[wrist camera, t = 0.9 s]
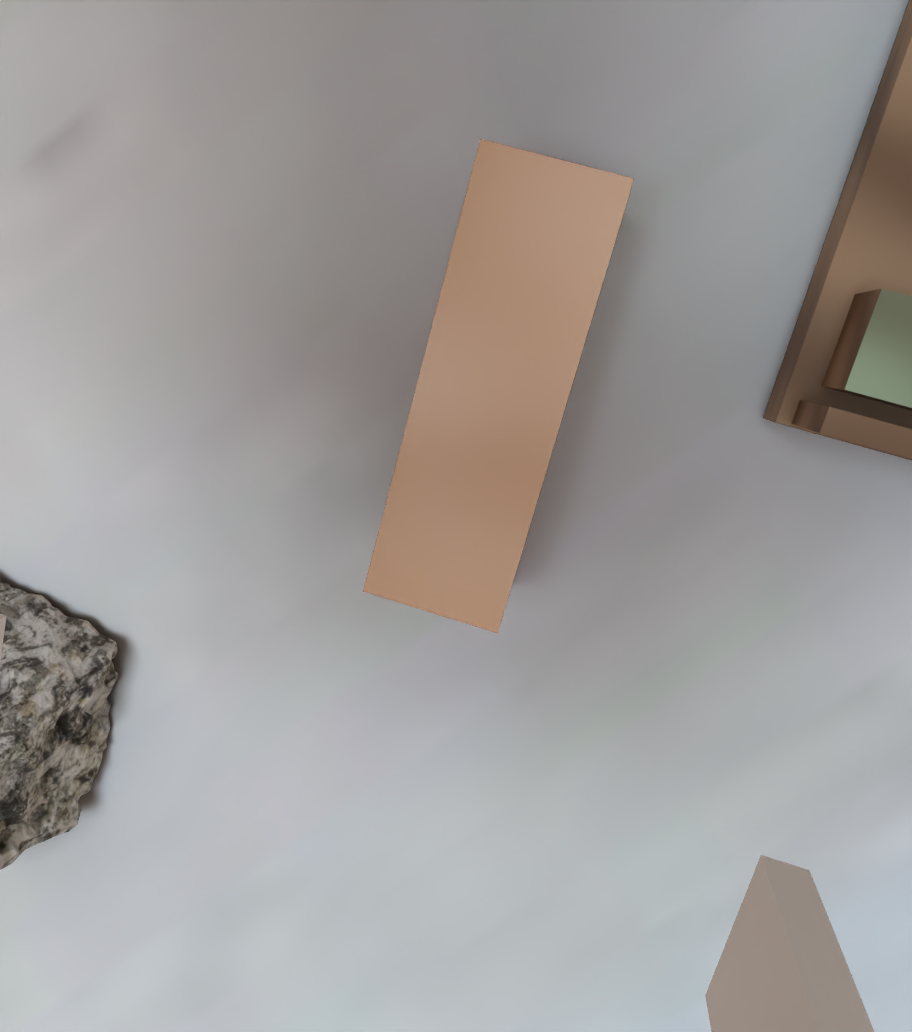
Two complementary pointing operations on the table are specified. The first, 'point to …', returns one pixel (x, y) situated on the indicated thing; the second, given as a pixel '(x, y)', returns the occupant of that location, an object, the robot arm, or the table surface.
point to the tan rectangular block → (495, 381)
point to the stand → (862, 290)
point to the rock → (48, 718)
